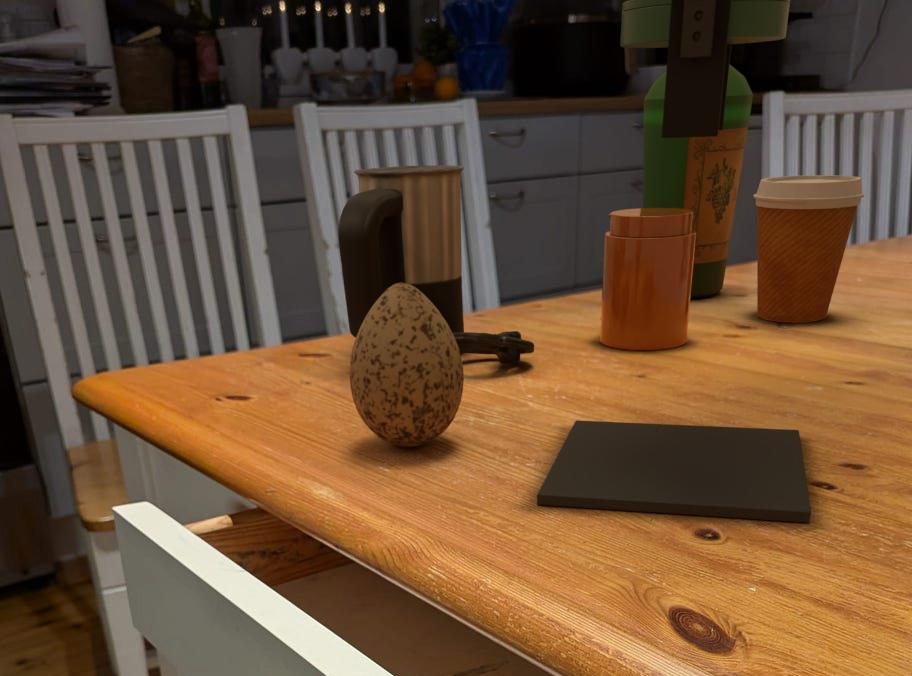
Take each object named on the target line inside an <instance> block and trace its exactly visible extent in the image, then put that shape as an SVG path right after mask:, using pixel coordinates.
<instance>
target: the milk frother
mask: <svg viewBox="0 0 912 676" xmlns="http://www.w3.org/2000/svg"><path fill="white" fill-rule="evenodd" d="M464 167H465V166H463V165H450V164H449V165H447V164H443V165H441V164H437V165H398V166H388V167H386V166H385V167H372V168H363V169H354V171H353V173H354V174H355V175H356V176H357V179H358V193H355V194H353V195H352V196H351V197H350V198H349V199H347V201H346V203H345V204H344V206H343V208H342V210H341V214H340V216H339V223H338V233H337V234H338V235H337V236H338V247H339V256H340V263H341V272H342V273H341V275H342V280H343V289H344V296H345V297H344V298H345V304H346V312H347V320H348V321H347V322H348V328H349V332H350V334H351V335H352V337H353V338H355V339H356V336H357V334H358V332H359V329H360V327H361V325H362V323H363V321H364V319H365V317H366V316H367V314H368V312H369V311H370V309H371V308H372V306H373V305H374V303H375V302H376V301H377V300H378V298H379V297H380V296H381V295H382V294H383V293H384V292H385V291H386V290H387V289H388V288H389V287H391V286H392V285H394V284H396V283H401V282H402V283H407V284H410V285H412V286H414V287H416V288H417V289H418V290H419V291H421V292H422V293H423V294H424V295H425V296H426V297H427V298H428V299H429V300H430V301H431V302H432V303H433V305H434V306H435V307H436V308H437V309H438V311H439V312H440V313H441V315H442V316H443V317H444V319H445V321H446V322H447V324H448V325H449V327H450V329H451V331H452V333H453V335H454V337H455V340H456V342H457V345H458V348H459V352H460V354H471V355H472V354H474V355H495V356H496V357H497V358H498V361H499V363H500V364H502V365H510V364H511V365H512V364H518V363H519V362H520V360H521V355H525V354H533V353H534V352H535V343H534V342H532V341H531V340H526V339H523V338H522V334H521V332H520V331H518V330H514V331H513V330H511V331H502V332H499V333H489V332H471V331H469V332H468V331H467V332H466V331H465V323H464V305H463V304H464V303H463V275H462V273H463V266H462V264H463V263H462V260H463V259H462V258H463V257H462V256H463V255H462V203H461V199H462V198H461V173H462V171H464Z"/></svg>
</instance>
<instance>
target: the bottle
mask: <svg viewBox="0 0 912 676" xmlns="http://www.w3.org/2000/svg"><path fill="white" fill-rule="evenodd" d="M665 84H666V71H665V72H664V73H663V74H662V75H660V76H659V77H658V78H657V79H656V80H655V81H654V82H653V84H652V85H651V87H650V88H649V90H648V92H647V94H646V95H645V97H644V99H643V144H642V145H643V146H642V147H643V148H642V149H643V151H642V152H643V153H642V154H643V155H642V156H643V158H642V161H643V162H642V208H679V209H688V210H692V211H693V218H694V220H692V230H694V231H695V232H696V241H695V252H694V263H693V274H692V285H691V297H690V300H691V299H692V300H693V299H695V300H696V299H701V298H703V299H704V298H709V297H711V296H713V295H715V294H716V293H718V292H720V291H722V290H723V287H724V281H725V275H726V269H727V263H728V256H729V249H730V243H731V237H732V232H733V224H734V219H735V213H736V206H737V199H738V194H739V186H740V181H741V174H742V167H743V162H744V155H745V150H746V149H745V148H746V143H747V136H748V131H749V130H748V129H749V125H750V124H749V123H750V118H751V117H750V116H751V112H752V105H753V99H754V94H753V92H752V89H751V87H750V85H749V82H748V80H747V78H746V77H745V75H743V73H741V72H740V71H739V70H738V69H736V68H735V67H734V66H733V65H731V64H729V74H728V84H727V94H726V104H725V114H724V124H723V130H718V136H715V137H681V138H662V125H663V111H664V98H665Z"/></svg>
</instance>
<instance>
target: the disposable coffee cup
mask: <svg viewBox="0 0 912 676" xmlns="http://www.w3.org/2000/svg"><path fill="white" fill-rule="evenodd" d="M865 195H866V194H865V192H863V180H862V177H860V176H851V175H830V174H829V175H827V174H826V175H825V174H824V175H822V174H821V175H819V174H818V175H816V174H815V175H813V174H811V175H810V174H809V175H787V176H786V175H785V176H784V175H783V176H774V177H773V176H772V177H767V178H761V179H760V182H759V184H758V188H757V191H756V193H754V194H753V199H755V206H757V207H756V210H757V211H756V212H757V217H756V218H757V222H756V223H757V228H756V229H757V230H756V231H757V232H756V233H757V234H756V235H757V242H756V243H757V246H756V247H757V252H756V253H757V254H756V255H757V260H756V261H757V262H756V263H757V265H756V267H757V269H756V271H757V273H756V275H757V278H756V279H757V281H756V283H757V285H756V286H757V287H756V288H757V289H756V291H757V292H756V294H757V295H756V296H757V297H756V300H757V302H756V303H757V307H756V309H757V310H756V316H757V317H758V318H760V319H762V320H766V321H772V322H778V323H797V324H798V323H810V322H811V323H812V322H817V321H821V320H825V318H827V314H828V311H829V307H830V304H831V300H832V296H833V294H834V289H835V287H836V283H837V279H838V275H839V273H840V269H841V265H842V263H843V262H842V261H843V259H844V255H845V251H846V248H847V244H848V240H849V238H850V233H851V230H852V226H853V223H854V219H855V216H856V212H857V209H858V206H859V205H861V202H862V198H864V197H865Z"/></svg>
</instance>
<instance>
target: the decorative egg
mask: <svg viewBox="0 0 912 676" xmlns="http://www.w3.org/2000/svg"><path fill="white" fill-rule="evenodd" d="M352 345H353V346H352V348H351V349H352V350H351V353H350V361H349V386H350V392H351V397H352V400H353V403H354V406H355V408H356V411H357V413H358V415H359V417H360V419H361V420H362V421H363V423H364V424H365V426H367V428H368V429H369V430H370V431H371V432H372V433H373V434H375V435H376V436H377V437H378V438H379V439H381V440H383V441H385V442H386V443H389V444H391V445H394V446H399V447H406V448H412V447H413V448H414V447H419V446H422V445H423V446H424V445H426V444H428V443H431V442H432V441H434V440H436V439H437V438H438V437H440V436H441V435H442V434H444V432H445V431H446V430H447V429H448V428H449V427H450V425H451V424H452V422H453V421H454V419H455V417H456V415H457V413H458V411H459V408H460V405H461V401H462V398H463V392H464V384H465V383H464V379H465V376H464V367H463V360H462V356H461V352H459V348H458V345H457V342H456V340H455V337H454V335H453V333H452V331H451V329H450V327H449V325H448V324H447V322H446V321H445V319H444V317H443V316H442V315H441V313H440V312H439V311H438V309H437V308H436V307H435V306H434V305H433V303H432V302H431V301H430V300H429V299H428V298H427V297H426V296H425V295H424V294H423V293H422V292H421V291H419V290H418V289H417V288H416V287H414V286H412V285H410V284H407V283H402V282H401V283H396V284H394V285H392V286H391V287H389V288H388V289H387V290H386V291H385V292H384V293H383V294H382V295H381V296H380V297H379V298H378V300H377V301H376V302H375V303H374V305H373V306H372V308H371V309H370V311H369V312H368V314H367V316H366V317H365V319H364V321H363V323H362V325H361V327H360V329H359V332H358V334H357V336H356V338H355V340H354V343H353V344H352Z"/></svg>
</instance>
